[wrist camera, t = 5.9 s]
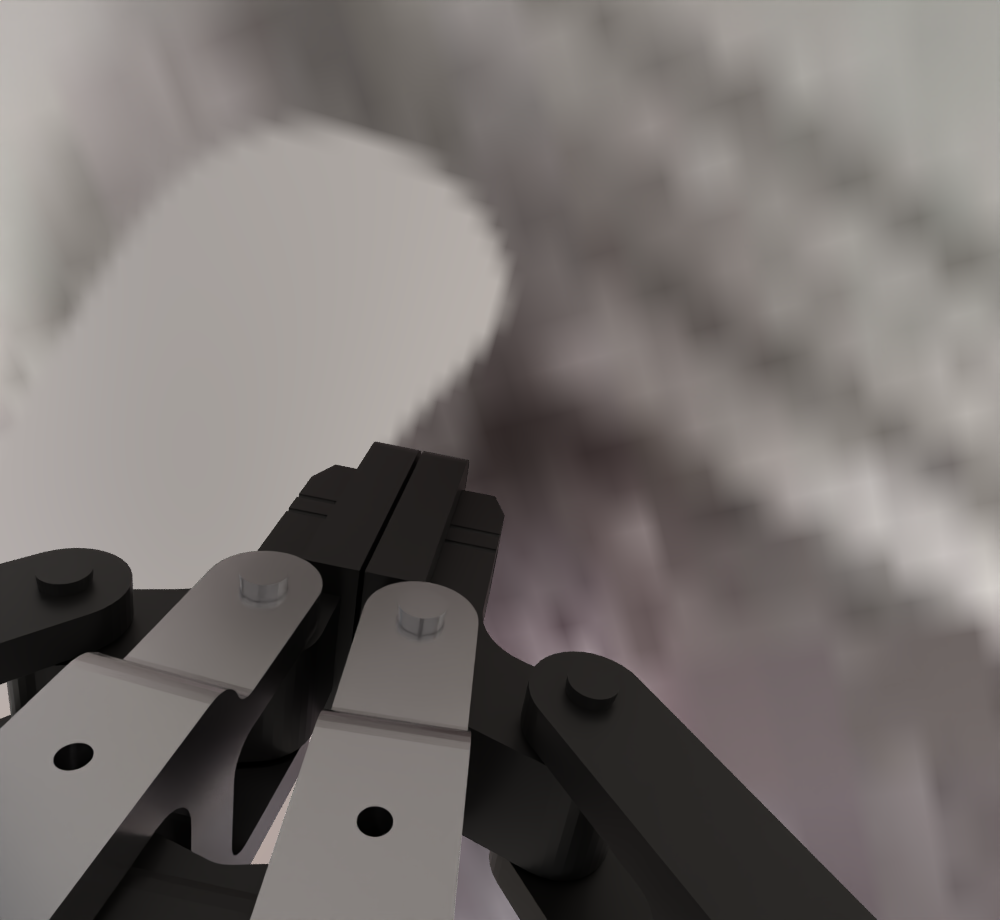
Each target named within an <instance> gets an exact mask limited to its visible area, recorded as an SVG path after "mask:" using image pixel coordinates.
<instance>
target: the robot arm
mask: <svg viewBox="0 0 1000 920" xmlns="http://www.w3.org/2000/svg"><path fill="white" fill-rule="evenodd" d="M468 467H469V460H465V459H460V458H455V457H450V456H445V455H440V454H435V453H430V452H425V451H424V452H423V453H422V455H421V451H420V450H415V449H410V448H405V447H400V446H395V445H390V444H385V443H380V442H374V443H373V445H372V446H371V448H370V449H369V451H368V453H367V454H366V456H365V457H364V459H363V460H362V462H361V464H360V465H359V467H358V468H357V469H354V468H350V467H345V466H340V465H334V466H332V467H330V468H328V469H326V470H324V471H322V472H320V473H318V474H316V475H314V476H312V477H311V478H310V480H309V481H308V482H307V484H306V485H305V487H304V488H303V489H302V491H301V492H300V493H299V497H297V498H296V499H295V500H294V502H293V503H292V504H291V506H290V507H289V511H286V512H285V514H284V515H283V517H282V518H281V519H280V521H279V522H278V523H277V525H276V526H275V527H274V529H273V530H272V532H271V533H270V534H269V536H268V537H267V538H266V540H265V541H264V542H263V544H262V545H261V547H260V548H259V549H258V551H253V552H246V553H240V554H237V555H234V556H231V557H228V558H226V559H224V560H222V561H220V562H219V563H217V564H216V565H214V566H213V567H212V568H211V569H210V570H209V571H208V572H207V573H206V574H205V575H204V576H203V577H202V578H201V579H200V580H199V581H198V582H197V583H196V584H195V586H194V587H193V588H190V589H166V590H165V589H149V590H148V589H142V590H141V589H137V590H136V589H133V583H132V572H131V569H130V567H129V566H128V564H127V563H126V562H124V561H123V560H122V559H121V558H119V557H117V556H115V555H113V554H110V553H108V552H104V551H100V550H95V549H86V548H68V549H60V550H53V551H48V552H43V553H39V554H35V555H32V556H28V557H24V558H21V559H17V560H13V561H9V562H6V563H2V564H0V684H2V683H6V682H7V687H8V695H9V703H10V711H11V715H9V716H6V717H4V718H2V719H0V920H454V911H455V901H456V891H457V880H458V870H459V859H460V849H461V839H462V835H463V836H465V837H467V838H469V839H471V840H472V841H474V842H476V843H478V844H480V845H481V846H483V847H485V848H487V849H489V850H490V853H489V860H490V867H491V870H492V873H493V875H494V877H495V879H496V881H497V883H498V885H499V886H500V888H501V890H502V891H503V893H504V894H505V896H506V898H507V899H508V901H509V902H510V904H511V906H512V907H513V909H514V911H515V912H516V914H517V915H518V917H519V919H520V920H877V919H876V918H875V917H874V916H873V915H872V914H871V913H870V912H869V911H868V910H867V909H866V908H865V907H864V906H863V905H862V904H861V903H860V902H859V901H858V900H857V899H856V898H855V897H854V896H853V895H852V894H851V893H850V892H849V891H848V890H847V889H846V888H845V887H844V886H843V885H842V884H841V883H840V882H839V881H838V880H837V879H836V878H835V877H834V876H833V875H832V874H831V873H830V872H829V871H828V870H827V869H826V868H825V867H824V866H823V865H822V864H821V863H820V862H819V861H818V860H817V859H816V858H815V857H814V856H813V855H812V854H811V853H810V852H809V851H808V849H807V848H806V847H805V846H804V845H803V844H802V843H801V842H800V841H799V840H798V839H797V838H796V837H795V836H794V835H793V834H792V833H791V832H790V831H789V830H788V829H787V828H786V827H785V826H784V825H783V824H782V823H781V822H780V821H779V820H778V819H777V818H776V817H775V816H774V815H773V814H772V813H771V812H770V811H769V810H768V809H767V808H766V807H765V806H764V805H763V804H762V803H761V802H760V801H759V800H758V799H757V798H756V797H755V796H754V795H753V794H752V793H751V792H750V791H749V790H748V789H747V788H746V787H745V786H744V785H743V784H742V783H741V782H740V781H739V780H738V779H737V778H736V777H735V776H734V775H733V774H732V773H731V772H730V771H729V770H728V769H727V768H726V767H725V766H724V765H723V764H722V763H721V762H720V761H719V760H718V759H717V758H716V757H715V756H714V755H713V754H712V752H711V751H710V750H709V749H708V748H707V747H706V746H705V745H704V744H703V743H702V742H701V741H700V740H699V739H698V738H697V737H696V736H695V735H694V734H693V733H692V732H691V731H690V730H689V729H688V728H687V727H686V726H685V725H684V724H683V723H682V722H681V721H680V720H679V719H678V718H677V717H676V716H675V715H674V714H673V713H672V712H671V711H670V710H669V709H668V708H667V707H666V706H665V705H664V704H663V703H662V702H661V701H660V700H659V699H658V698H657V697H656V696H655V695H654V694H653V693H652V692H651V691H650V690H649V689H648V688H647V687H646V686H645V685H644V684H643V683H642V682H641V681H640V680H639V679H638V678H637V677H636V676H635V675H634V674H633V673H632V672H630V671H629V670H628V669H626V668H625V667H623V666H622V665H620V664H618V663H616V662H614V661H613V660H610V659H608V658H605V657H603V656H599V655H596V654H591V653H586V652H574V651H573V652H562V653H557V654H553V655H551V656H548V657H546V658H544V659H543V660H541V661H540V662H539V663H538V664H537V665H535V667H534V666H532V665H530V664H527V663H525V662H523V661H521V660H519V659H517V658H515V657H513V656H512V655H510V654H509V653H507V652H506V651H504V650H503V649H502V648H500V647H499V646H498V645H497V644H496V643H495V642H494V641H493V640H492V638H491V637H490V636H489V634H488V633H487V631H486V629H485V626H484V624H483V621H484V616H485V612H486V607H487V603H488V598H489V594H490V588H491V583H492V578H493V573H494V568H495V562H496V557H497V552H498V547H499V542H500V536H501V531H502V526H503V521H504V516H505V515H504V513H503V511H502V509H501V508H500V506H499V504H498V502H497V500H496V498H495V496H490V495H485V494H480V493H475V492H470V491H465V487H466V481H467V475H468ZM311 735H312V736H311ZM310 737H311V739H310ZM309 741H310V742H309ZM296 779H297V782H296V784H295V787H294V790H293V794H292V796H291V799H290V802H289V806H288V808H287V811H286V814H285V817H284V820H283V823H282V826H281V829H280V832H279V835H278V838H277V841H276V844H275V847H274V850H273V853H272V856H271V859H270V862H269V864H253V865H252V864H251V862H252V860H253V859H254V857H255V855H256V853H257V851H258V849H259V848H260V846H261V844H262V842H263V840H264V838H265V836H266V835H267V833H268V831H269V829H270V827H271V825H272V824H273V822H274V820H275V818H276V816H277V814H278V812H279V811H280V809H281V807H282V805H283V803H284V802H285V800H286V798H287V796H288V794H289V792H290V791H291V788H292V787H293V785H294V783H295V781H296Z"/></svg>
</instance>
